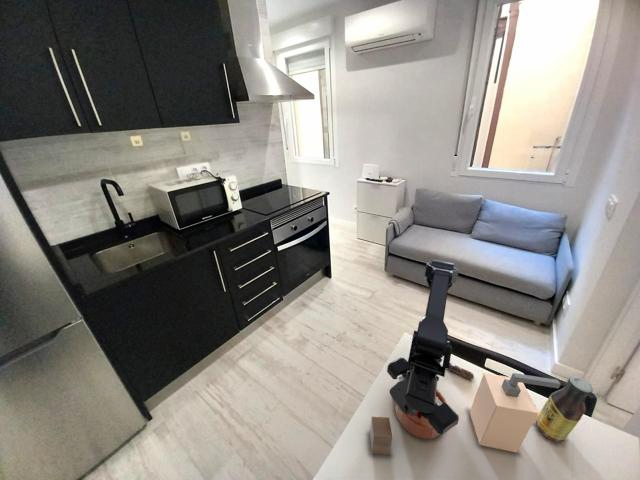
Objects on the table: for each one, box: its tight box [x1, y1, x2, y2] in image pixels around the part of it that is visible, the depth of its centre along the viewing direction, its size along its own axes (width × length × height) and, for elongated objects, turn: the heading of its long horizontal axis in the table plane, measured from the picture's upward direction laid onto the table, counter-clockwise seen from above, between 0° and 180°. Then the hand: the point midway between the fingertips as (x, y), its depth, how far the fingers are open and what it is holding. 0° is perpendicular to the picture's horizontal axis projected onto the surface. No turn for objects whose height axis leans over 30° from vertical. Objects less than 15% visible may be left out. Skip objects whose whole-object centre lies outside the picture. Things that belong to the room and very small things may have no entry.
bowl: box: [394, 389, 447, 440], centre depth 72 cm, size 13×13×5 cm
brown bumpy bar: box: [448, 362, 475, 381], centre depth 84 cm, size 8×2×2 cm, turn 54°
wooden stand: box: [369, 416, 393, 456], centre depth 65 cm, size 4×4×8 cm
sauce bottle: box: [535, 375, 594, 443], centre depth 64 cm, size 7×6×20 cm
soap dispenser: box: [469, 372, 562, 454], centre depth 64 cm, size 13×9×22 cm
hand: (414, 411), depth 69 cm, fingers closed on tomato, 3 cm apart
